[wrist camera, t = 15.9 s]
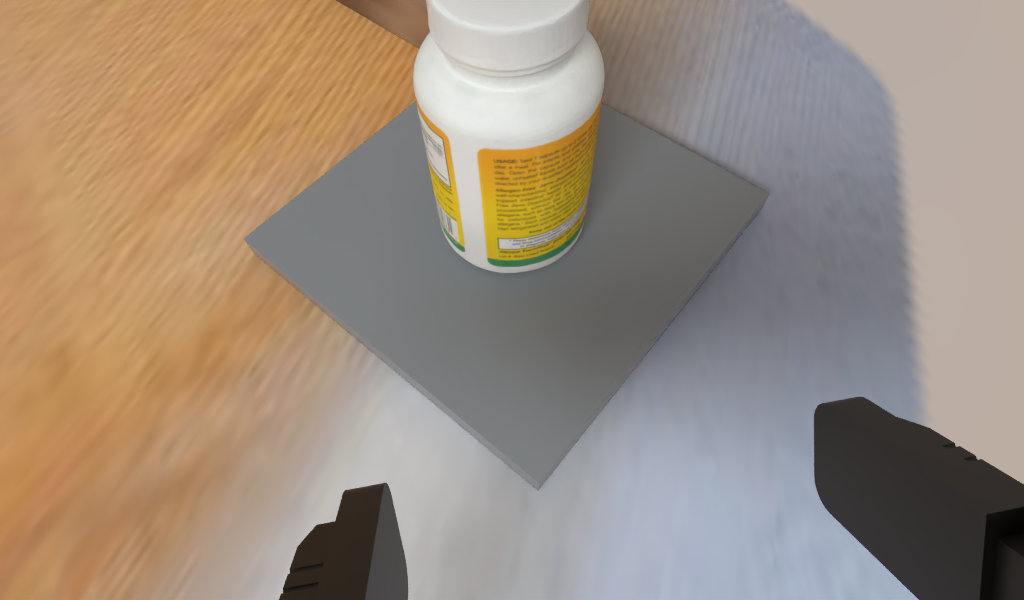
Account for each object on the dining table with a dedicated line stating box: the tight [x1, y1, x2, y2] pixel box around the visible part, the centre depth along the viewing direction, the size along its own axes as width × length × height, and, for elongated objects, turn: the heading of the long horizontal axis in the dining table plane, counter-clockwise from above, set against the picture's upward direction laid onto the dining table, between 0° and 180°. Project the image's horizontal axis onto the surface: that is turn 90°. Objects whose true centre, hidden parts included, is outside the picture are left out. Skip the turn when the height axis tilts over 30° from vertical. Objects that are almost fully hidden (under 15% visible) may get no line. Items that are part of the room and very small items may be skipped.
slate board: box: [244, 102, 769, 490], centre depth 23 cm, size 14×14×1 cm
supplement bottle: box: [413, 0, 605, 273], centre depth 19 cm, size 5×5×10 cm
